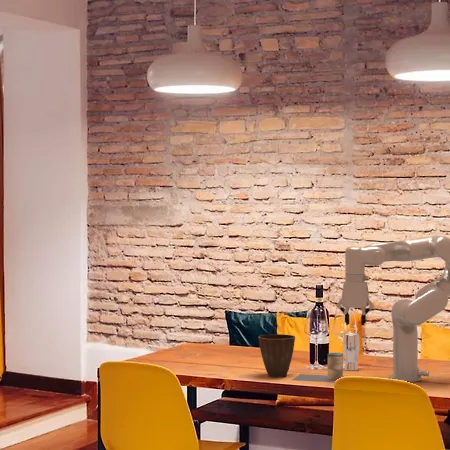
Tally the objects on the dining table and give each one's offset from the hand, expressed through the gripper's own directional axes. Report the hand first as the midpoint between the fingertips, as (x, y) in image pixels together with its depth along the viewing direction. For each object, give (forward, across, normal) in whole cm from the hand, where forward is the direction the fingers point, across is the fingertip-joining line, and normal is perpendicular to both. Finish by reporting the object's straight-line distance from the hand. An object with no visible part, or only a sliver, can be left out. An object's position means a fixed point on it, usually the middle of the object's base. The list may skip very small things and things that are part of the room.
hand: (355, 324), depth 385 cm
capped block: (+22, +8, 0) cm, 23 cm away
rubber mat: (+22, +13, 0) cm, 26 cm away
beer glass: (+23, +7, -27) cm, 36 cm away
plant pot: (+23, +33, -4) cm, 40 cm away
